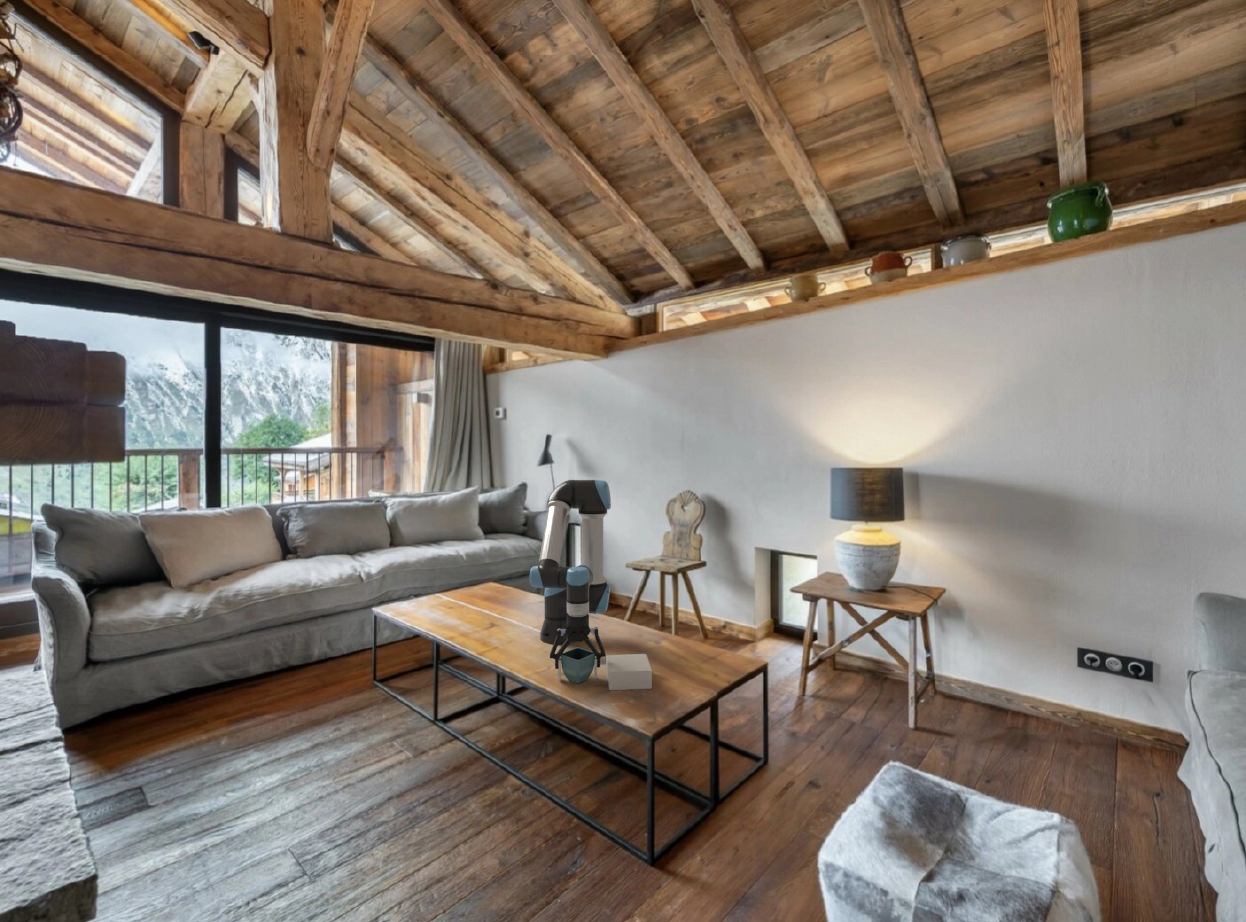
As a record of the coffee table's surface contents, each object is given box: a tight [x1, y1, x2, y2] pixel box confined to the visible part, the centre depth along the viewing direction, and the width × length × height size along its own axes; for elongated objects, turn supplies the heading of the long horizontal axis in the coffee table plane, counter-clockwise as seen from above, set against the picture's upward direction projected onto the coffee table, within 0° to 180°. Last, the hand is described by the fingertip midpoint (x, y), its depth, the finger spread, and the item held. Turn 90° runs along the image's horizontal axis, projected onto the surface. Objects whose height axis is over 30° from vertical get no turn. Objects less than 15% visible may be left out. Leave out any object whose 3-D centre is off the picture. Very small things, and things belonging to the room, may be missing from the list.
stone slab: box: [605, 653, 653, 691], centre depth 188 cm, size 14×14×6 cm
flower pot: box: [560, 646, 595, 684], centre depth 188 cm, size 9×9×9 cm
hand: (577, 677), depth 188 cm, fingers closed on flower pot, 11 cm apart
